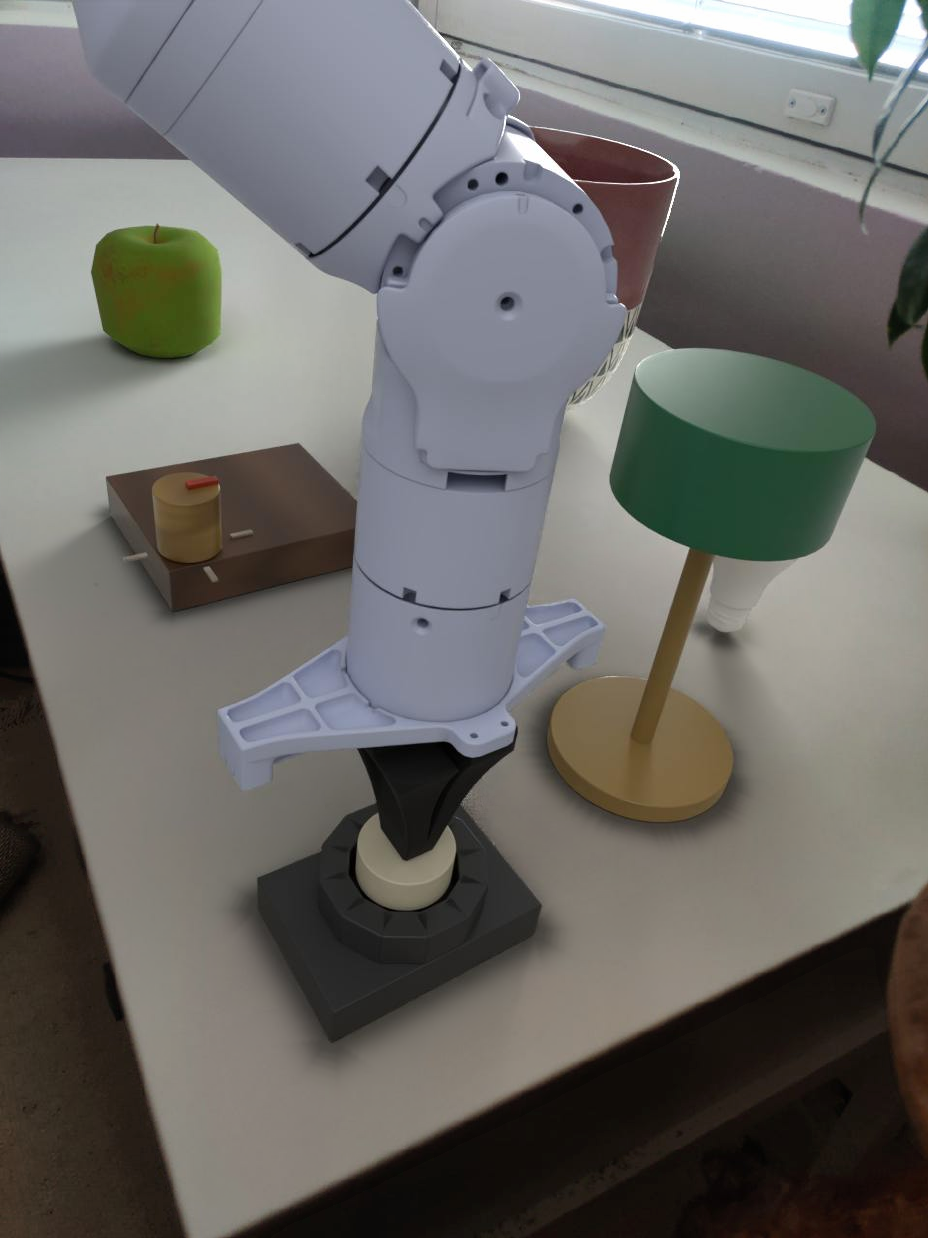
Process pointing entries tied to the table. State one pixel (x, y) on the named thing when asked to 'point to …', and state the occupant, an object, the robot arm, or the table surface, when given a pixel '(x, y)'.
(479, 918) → the switch block
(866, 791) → the table surface
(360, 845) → the button
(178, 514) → the dimmer knob
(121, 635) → the table surface
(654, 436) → the desk lamp
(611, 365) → the planter
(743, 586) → the lightbulb
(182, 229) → the apple
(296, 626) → the table surface
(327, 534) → the dimmer panel
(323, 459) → the table surface
